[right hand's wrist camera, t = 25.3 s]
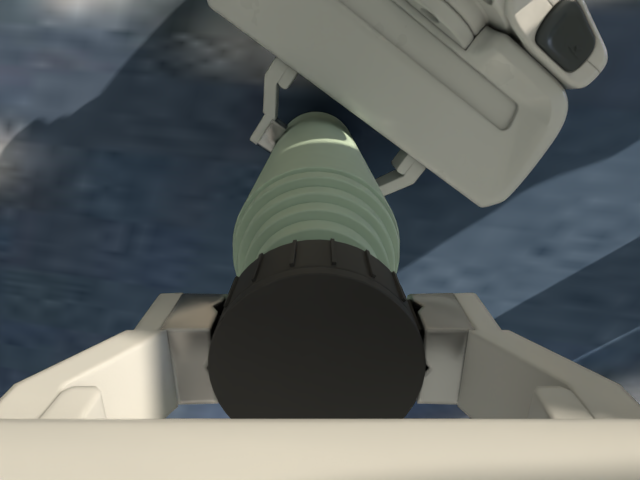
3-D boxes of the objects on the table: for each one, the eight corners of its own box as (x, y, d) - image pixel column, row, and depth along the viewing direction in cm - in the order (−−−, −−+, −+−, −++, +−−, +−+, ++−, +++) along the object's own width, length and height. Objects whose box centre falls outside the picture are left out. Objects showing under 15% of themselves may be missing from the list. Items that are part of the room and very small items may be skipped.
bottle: (363, 172, 32) (474, 408, 10) (295, 197, 32) (249, 473, 10) (338, 100, 30) (405, 186, 8) (266, 127, 31) (136, 281, 8)
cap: (282, 422, 11) (277, 482, 9) (185, 289, 10) (158, 333, 8) (439, 355, 10) (462, 408, 9) (358, 201, 9) (367, 229, 7)
